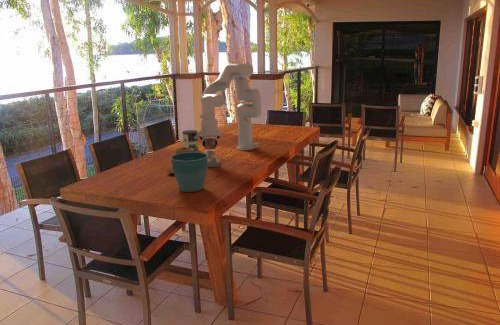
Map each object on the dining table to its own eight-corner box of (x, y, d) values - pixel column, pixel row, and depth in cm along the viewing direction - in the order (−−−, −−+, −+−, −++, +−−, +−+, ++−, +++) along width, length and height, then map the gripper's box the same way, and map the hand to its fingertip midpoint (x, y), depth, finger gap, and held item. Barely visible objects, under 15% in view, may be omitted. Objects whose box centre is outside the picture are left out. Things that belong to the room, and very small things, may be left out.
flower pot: (189, 197, 208) (187, 162, 204) (165, 190, 220) (163, 157, 216) (216, 188, 221) (215, 155, 217) (192, 181, 233) (191, 150, 229)
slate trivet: (218, 162, 272) (218, 158, 272) (219, 166, 263) (219, 162, 262) (202, 163, 271) (202, 159, 270) (203, 167, 261) (202, 163, 261)
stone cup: (199, 171, 253) (197, 145, 250) (191, 176, 242) (189, 150, 239) (174, 169, 257) (173, 144, 254) (165, 175, 246) (164, 149, 243)
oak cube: (215, 159, 269) (214, 149, 268) (216, 161, 264) (215, 151, 262) (205, 159, 268) (205, 150, 267) (206, 162, 263) (205, 152, 261)
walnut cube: (214, 146, 267) (214, 137, 266) (215, 148, 262) (215, 138, 260) (204, 147, 266) (204, 137, 265) (205, 149, 261) (204, 139, 259)
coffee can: (200, 150, 307) (199, 130, 304) (195, 153, 298) (194, 132, 294) (186, 149, 309) (185, 129, 306) (181, 153, 300) (180, 132, 296)
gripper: (194, 118, 255) (195, 148, 259) (223, 117, 257) (224, 147, 261) (193, 116, 262) (195, 146, 266) (222, 115, 264) (223, 144, 269)
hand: (210, 146), depth 264 cm, fingers closed on walnut cube, 6 cm apart
